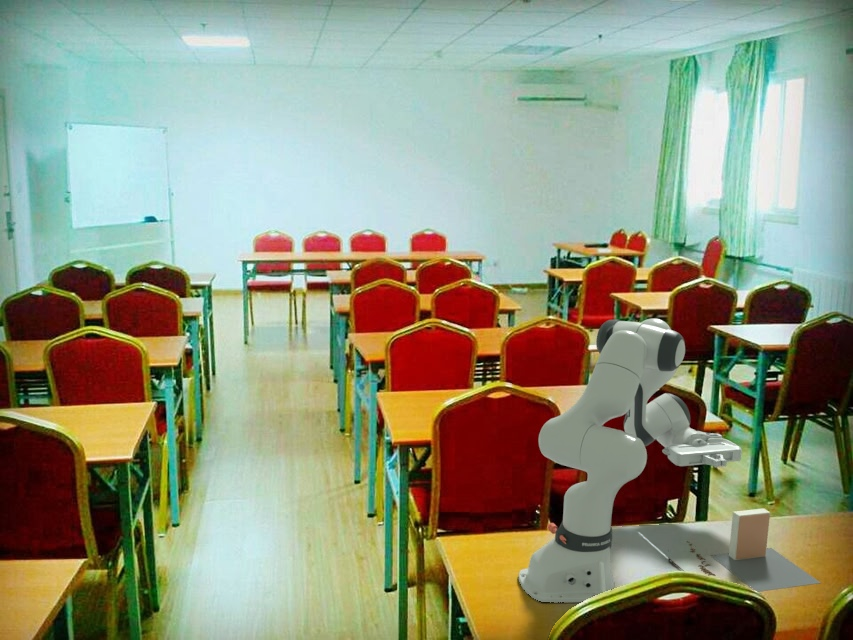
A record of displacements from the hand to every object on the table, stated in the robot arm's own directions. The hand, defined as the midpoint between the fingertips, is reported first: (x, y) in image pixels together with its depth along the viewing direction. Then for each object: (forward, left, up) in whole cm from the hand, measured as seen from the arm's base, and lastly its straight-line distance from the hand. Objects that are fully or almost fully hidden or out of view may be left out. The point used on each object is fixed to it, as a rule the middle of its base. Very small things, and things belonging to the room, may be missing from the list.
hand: (721, 464), depth 209 cm
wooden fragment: (-15, -10, -20) cm, 27 cm away
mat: (0, -20, -20) cm, 28 cm away
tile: (0, -14, -19) cm, 24 cm away
